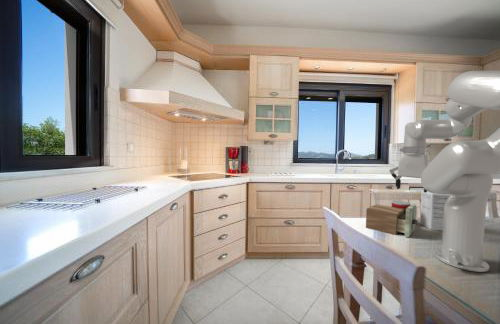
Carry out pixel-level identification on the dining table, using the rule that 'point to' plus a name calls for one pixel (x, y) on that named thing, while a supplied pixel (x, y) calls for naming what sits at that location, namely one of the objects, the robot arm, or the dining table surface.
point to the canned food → (401, 205)
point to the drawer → (407, 221)
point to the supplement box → (432, 210)
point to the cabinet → (383, 218)
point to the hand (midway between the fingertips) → (411, 190)
